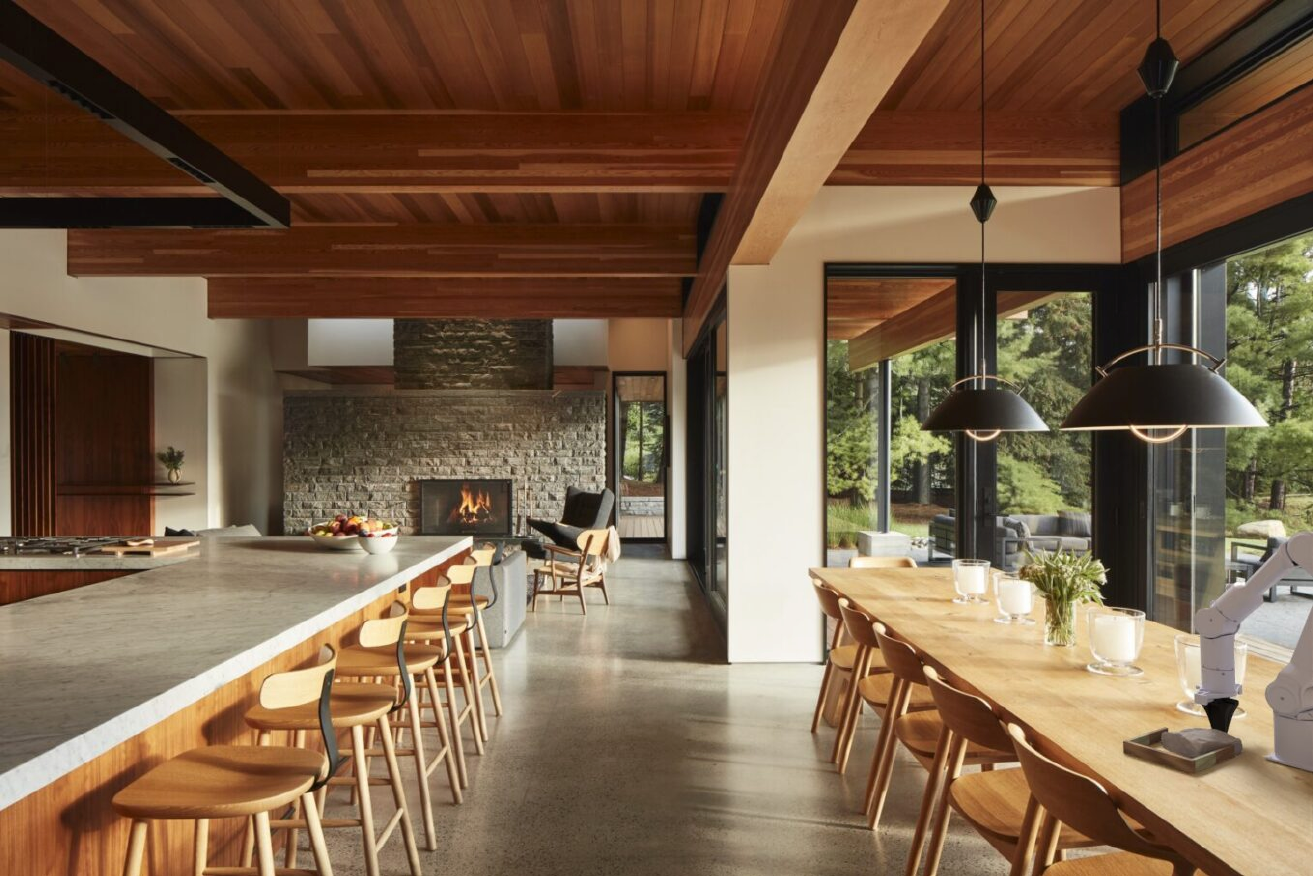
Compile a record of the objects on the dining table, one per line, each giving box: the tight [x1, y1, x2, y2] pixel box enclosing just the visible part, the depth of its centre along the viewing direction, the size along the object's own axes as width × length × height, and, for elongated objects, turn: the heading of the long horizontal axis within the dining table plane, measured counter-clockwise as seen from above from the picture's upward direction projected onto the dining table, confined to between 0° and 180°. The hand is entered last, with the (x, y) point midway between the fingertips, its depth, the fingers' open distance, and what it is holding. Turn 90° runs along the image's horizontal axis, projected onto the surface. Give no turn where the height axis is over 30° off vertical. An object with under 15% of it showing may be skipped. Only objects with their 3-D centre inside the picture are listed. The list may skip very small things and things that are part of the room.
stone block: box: [1161, 727, 1244, 759], centre depth 163 cm, size 12×5×10 cm
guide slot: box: [1122, 726, 1236, 774], centre depth 160 cm, size 13×15×2 cm
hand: (1219, 734), depth 168 cm, fingers closed
